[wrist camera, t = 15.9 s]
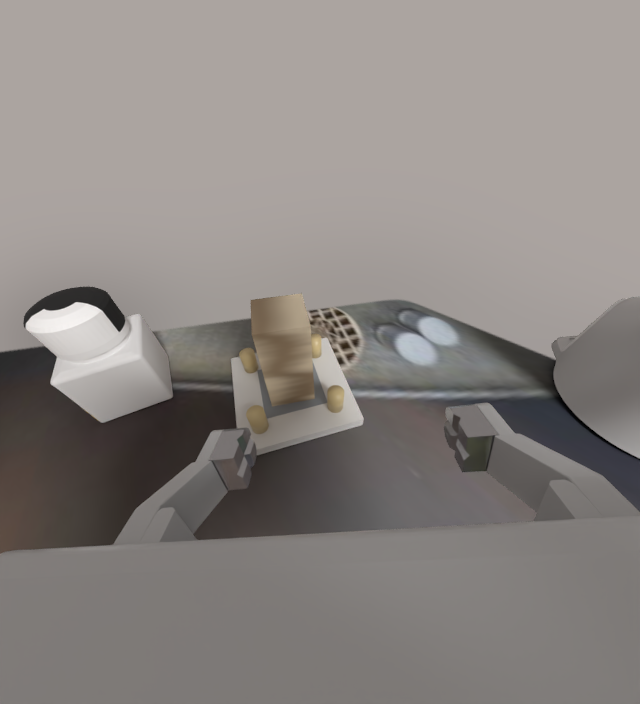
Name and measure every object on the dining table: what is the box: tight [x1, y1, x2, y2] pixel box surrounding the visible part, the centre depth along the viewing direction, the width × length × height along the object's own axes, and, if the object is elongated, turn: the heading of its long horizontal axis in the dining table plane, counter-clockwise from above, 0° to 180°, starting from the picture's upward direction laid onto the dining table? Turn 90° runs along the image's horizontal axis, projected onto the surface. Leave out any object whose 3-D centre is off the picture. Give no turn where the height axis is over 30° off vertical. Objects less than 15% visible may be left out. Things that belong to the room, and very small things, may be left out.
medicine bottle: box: [24, 287, 173, 423], centre depth 26 cm, size 7×7×12 cm
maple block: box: [251, 294, 315, 406], centre depth 25 cm, size 4×4×10 cm
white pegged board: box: [231, 334, 364, 456], centre depth 28 cm, size 12×12×4 cm
